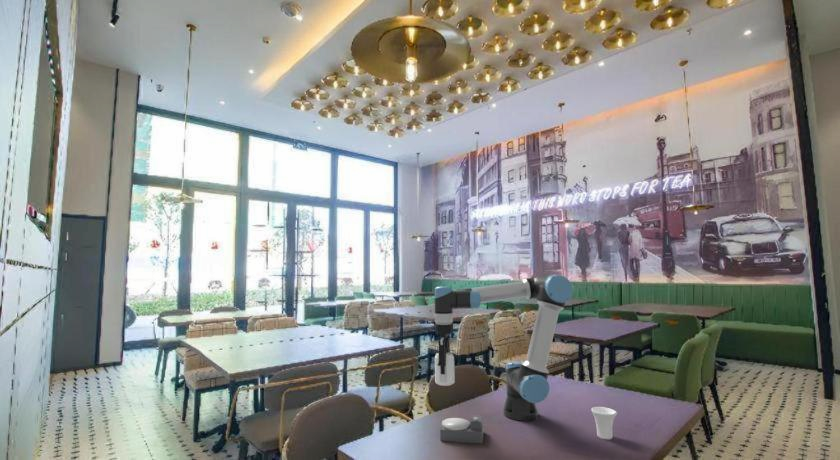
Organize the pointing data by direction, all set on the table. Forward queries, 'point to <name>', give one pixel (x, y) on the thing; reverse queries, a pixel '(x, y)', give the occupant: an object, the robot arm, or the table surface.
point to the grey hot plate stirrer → (462, 430)
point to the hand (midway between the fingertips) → (445, 379)
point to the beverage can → (449, 370)
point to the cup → (604, 421)
